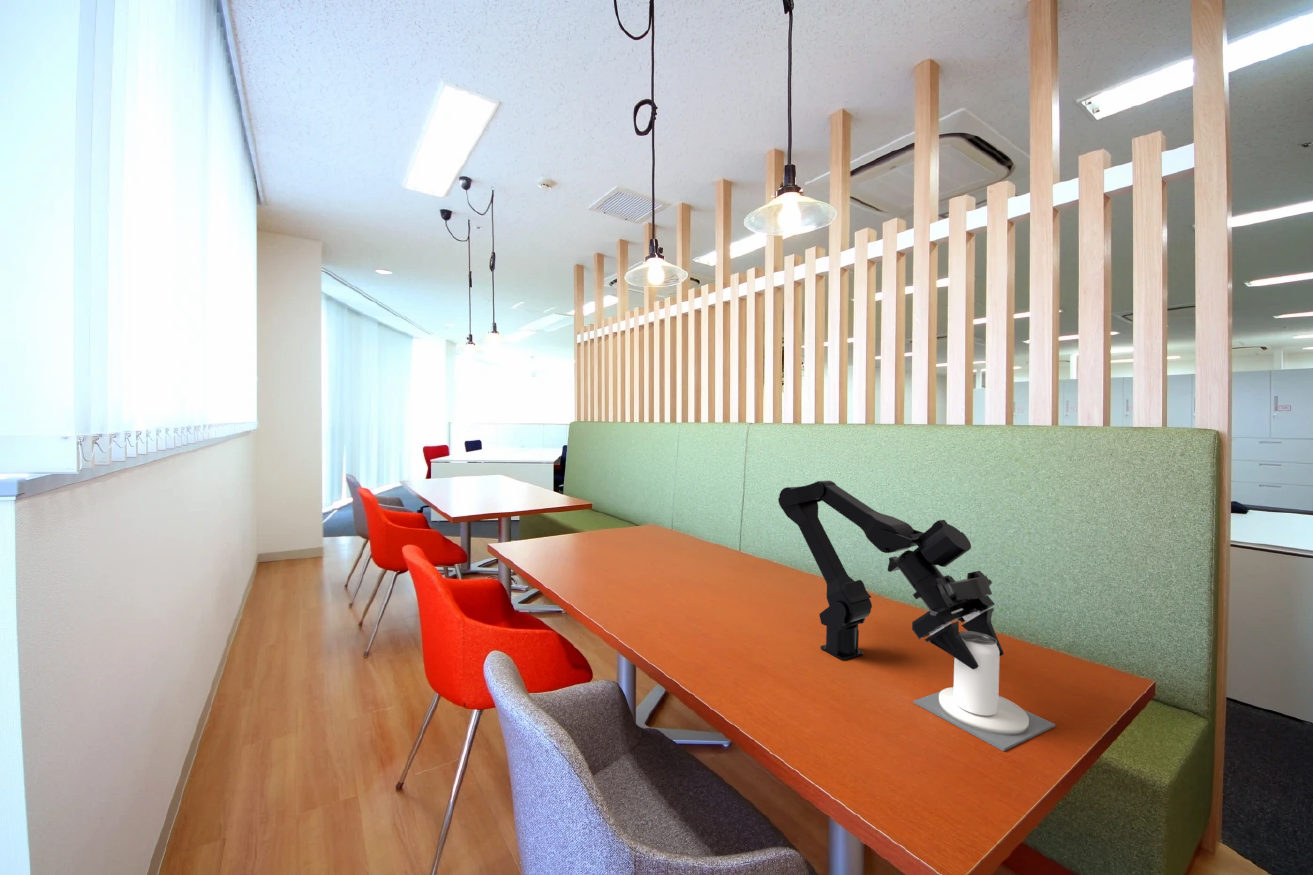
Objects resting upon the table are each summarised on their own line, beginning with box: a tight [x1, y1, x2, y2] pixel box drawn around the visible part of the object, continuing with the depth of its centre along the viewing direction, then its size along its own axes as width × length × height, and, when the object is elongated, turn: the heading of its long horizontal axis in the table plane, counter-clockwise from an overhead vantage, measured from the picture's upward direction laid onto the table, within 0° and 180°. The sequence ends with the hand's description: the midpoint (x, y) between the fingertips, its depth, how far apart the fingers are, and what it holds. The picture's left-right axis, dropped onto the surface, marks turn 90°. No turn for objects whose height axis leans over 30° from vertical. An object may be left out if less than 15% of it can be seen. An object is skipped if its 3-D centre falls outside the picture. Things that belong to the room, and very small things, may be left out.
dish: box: [913, 686, 1056, 752], centre depth 87 cm, size 15×15×1 cm
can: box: [953, 630, 1001, 717], centre depth 87 cm, size 6×6×12 cm
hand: (989, 661), depth 86 cm, fingers open, 9 cm apart
